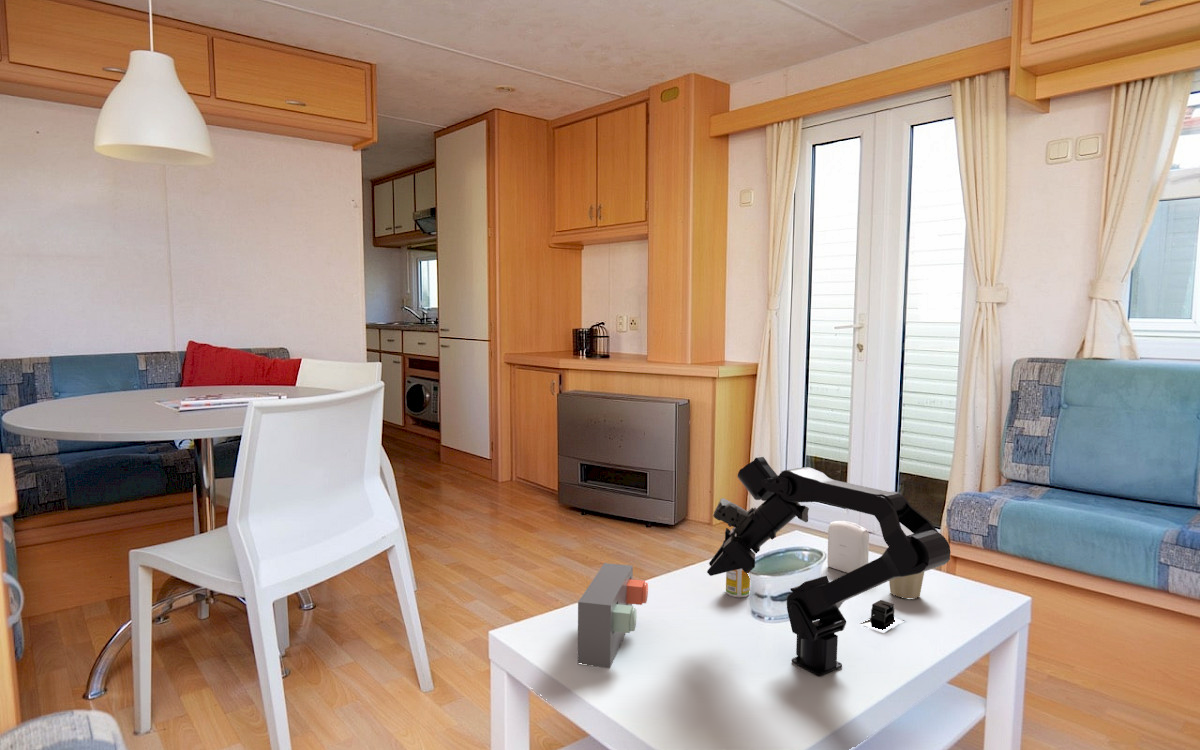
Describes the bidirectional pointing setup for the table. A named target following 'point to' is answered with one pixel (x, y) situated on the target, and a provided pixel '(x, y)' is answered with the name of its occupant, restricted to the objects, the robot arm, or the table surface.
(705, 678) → the table surface
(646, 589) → the button red
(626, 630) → the button green
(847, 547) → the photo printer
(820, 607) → the robot arm
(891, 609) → the black grooved cube
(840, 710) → the table surface
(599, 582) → the control box
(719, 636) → the table surface
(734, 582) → the supplement bottle
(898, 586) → the flower pot
